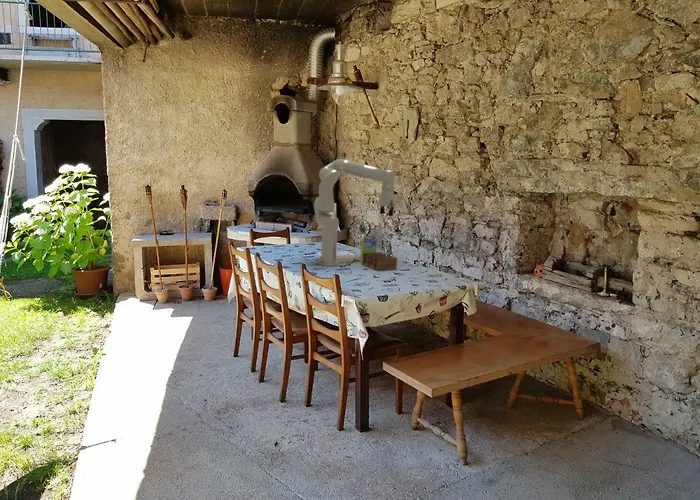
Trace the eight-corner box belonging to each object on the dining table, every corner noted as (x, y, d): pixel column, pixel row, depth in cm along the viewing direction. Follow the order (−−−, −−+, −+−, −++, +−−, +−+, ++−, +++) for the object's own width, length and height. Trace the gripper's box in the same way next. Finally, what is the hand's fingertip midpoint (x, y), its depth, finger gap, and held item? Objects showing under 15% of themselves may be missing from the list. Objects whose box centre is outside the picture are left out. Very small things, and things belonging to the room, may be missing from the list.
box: (373, 260, 372) (374, 234, 369) (376, 261, 368) (378, 235, 365) (359, 261, 367) (360, 235, 363) (362, 262, 363) (364, 236, 360)
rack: (396, 269, 349) (397, 257, 348) (377, 271, 342) (378, 259, 341) (380, 263, 364) (381, 252, 363) (362, 264, 357) (362, 253, 356)
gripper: (376, 187, 373) (374, 213, 376) (390, 190, 359) (389, 216, 362) (385, 187, 377) (383, 213, 380) (400, 190, 362) (398, 216, 366)
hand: (386, 214), depth 371 cm, fingers open, 9 cm apart
